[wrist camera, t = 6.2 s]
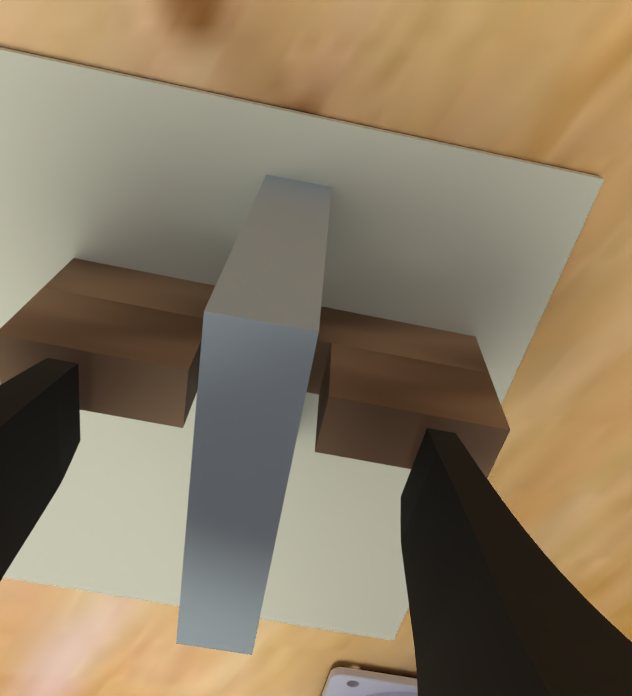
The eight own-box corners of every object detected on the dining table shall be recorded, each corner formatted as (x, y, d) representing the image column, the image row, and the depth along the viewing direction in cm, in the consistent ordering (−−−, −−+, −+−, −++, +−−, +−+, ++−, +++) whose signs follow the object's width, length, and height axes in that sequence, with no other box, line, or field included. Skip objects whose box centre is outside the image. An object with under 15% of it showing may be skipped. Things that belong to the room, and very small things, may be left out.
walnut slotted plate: (475, 336, 16) (510, 429, 13) (457, 382, 17) (485, 482, 13) (73, 258, 15) (-6, 334, 12) (75, 310, 16) (1, 395, 13)
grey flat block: (331, 187, 14) (318, 331, 8) (283, 437, 18) (252, 654, 12) (265, 174, 14) (204, 311, 8) (233, 428, 18) (176, 643, 12)
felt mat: (599, 176, 14) (604, 179, 14) (393, 633, 24) (393, 640, 23) (-86, 28, 13) (-94, 29, 13) (-3, 569, 23) (-7, 576, 23)
